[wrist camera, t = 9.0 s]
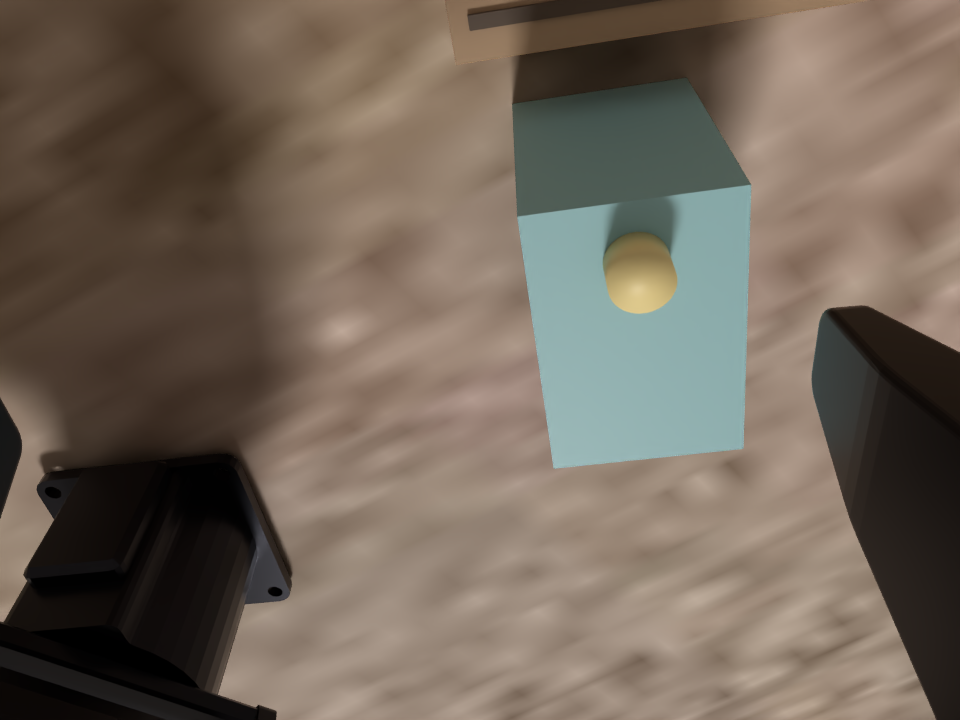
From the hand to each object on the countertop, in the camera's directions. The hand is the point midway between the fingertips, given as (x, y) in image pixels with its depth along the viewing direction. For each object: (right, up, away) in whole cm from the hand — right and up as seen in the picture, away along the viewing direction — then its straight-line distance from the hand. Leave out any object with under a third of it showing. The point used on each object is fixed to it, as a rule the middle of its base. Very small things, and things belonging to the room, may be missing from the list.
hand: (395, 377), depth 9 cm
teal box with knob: (+4, +4, +12) cm, 13 cm away
